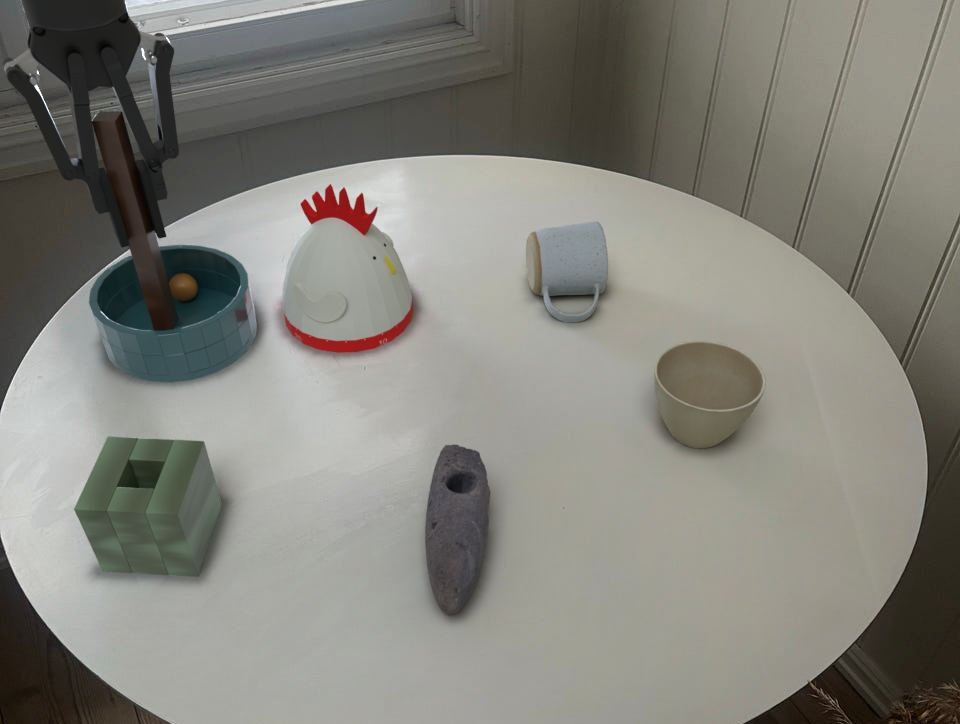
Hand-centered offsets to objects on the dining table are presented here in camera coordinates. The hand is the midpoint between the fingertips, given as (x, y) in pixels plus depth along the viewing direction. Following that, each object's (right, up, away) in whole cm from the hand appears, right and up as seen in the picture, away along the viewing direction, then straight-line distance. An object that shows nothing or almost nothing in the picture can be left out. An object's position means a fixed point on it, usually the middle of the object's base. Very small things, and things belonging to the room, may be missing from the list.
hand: (140, 234), depth 87 cm
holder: (+5, -28, -8) cm, 29 cm away
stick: (0, -7, +8) cm, 11 cm away
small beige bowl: (+53, -18, +3) cm, 56 cm away
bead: (0, -2, +13) cm, 13 cm away
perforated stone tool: (+30, -30, -8) cm, 43 cm away
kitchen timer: (+18, -5, +14) cm, 23 cm away
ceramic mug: (+42, -2, +17) cm, 45 cm away
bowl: (0, -8, +11) cm, 14 cm away
